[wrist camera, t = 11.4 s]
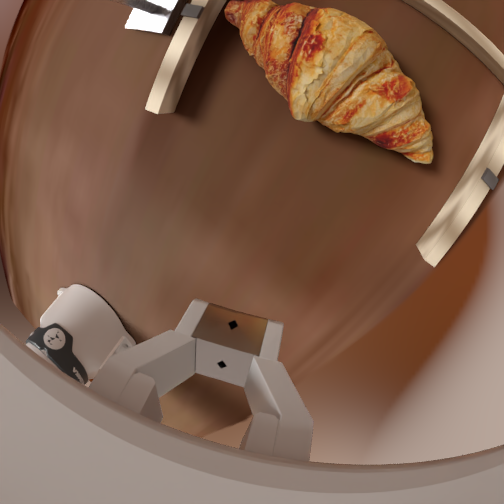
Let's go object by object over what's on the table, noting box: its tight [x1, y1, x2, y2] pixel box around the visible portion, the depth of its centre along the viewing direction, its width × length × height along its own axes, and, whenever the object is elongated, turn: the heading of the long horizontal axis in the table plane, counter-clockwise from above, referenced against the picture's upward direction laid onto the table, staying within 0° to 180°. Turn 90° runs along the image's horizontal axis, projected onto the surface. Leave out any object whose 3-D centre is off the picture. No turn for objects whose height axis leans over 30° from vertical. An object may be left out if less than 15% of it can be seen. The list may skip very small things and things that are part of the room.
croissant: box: [224, 0, 433, 164], centre depth 16 cm, size 21×10×8 cm
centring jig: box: [145, 0, 504, 267], centre depth 16 cm, size 22×30×4 cm
